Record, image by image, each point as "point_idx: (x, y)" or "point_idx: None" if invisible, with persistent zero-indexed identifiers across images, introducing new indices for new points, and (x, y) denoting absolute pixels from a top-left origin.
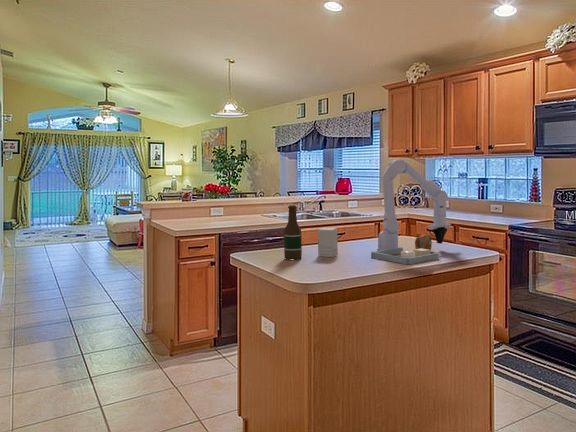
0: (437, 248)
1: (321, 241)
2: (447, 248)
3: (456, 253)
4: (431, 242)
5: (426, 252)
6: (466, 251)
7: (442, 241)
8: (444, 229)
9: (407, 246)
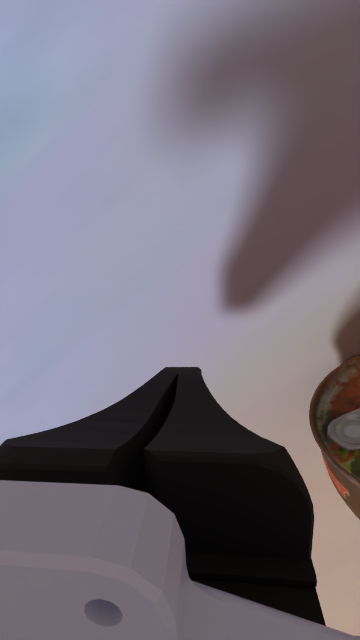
0: None
1: None
2: (58, 364)
3: (224, 90)
4: (315, 432)
5: None
6: (25, 120)
7: (164, 371)
8: (113, 471)
9: None
